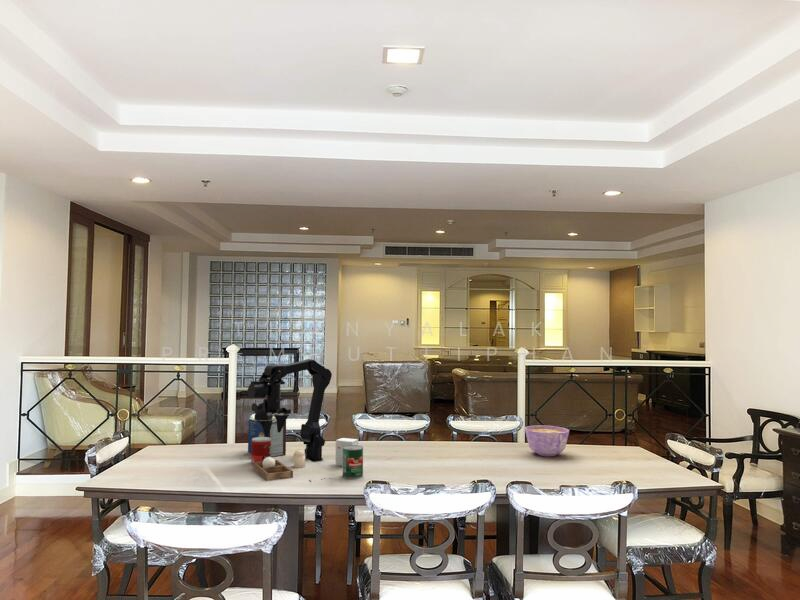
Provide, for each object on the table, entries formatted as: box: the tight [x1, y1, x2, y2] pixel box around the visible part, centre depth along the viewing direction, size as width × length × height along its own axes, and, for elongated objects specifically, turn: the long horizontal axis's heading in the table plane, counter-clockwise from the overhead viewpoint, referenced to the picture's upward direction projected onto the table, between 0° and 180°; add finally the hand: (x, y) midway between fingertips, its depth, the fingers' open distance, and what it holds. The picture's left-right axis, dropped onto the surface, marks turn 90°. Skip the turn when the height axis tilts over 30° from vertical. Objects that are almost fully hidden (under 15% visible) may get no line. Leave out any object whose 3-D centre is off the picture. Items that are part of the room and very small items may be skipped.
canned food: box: [250, 437, 271, 465], centre depth 229 cm, size 8×8×11 cm
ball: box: [262, 457, 276, 468], centre depth 217 cm, size 5×5×5 cm
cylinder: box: [293, 449, 306, 469], centre depth 224 cm, size 5×5×8 cm
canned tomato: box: [342, 444, 364, 480], centre depth 215 cm, size 8×8×11 cm
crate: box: [252, 459, 294, 482], centre depth 213 cm, size 10×20×4 cm, turn 29°
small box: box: [335, 437, 359, 467], centre depth 232 cm, size 8×6×10 cm
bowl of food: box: [524, 424, 570, 457], centre depth 256 cm, size 20×20×12 cm
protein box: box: [247, 417, 287, 458], centre depth 251 cm, size 10×15×16 cm
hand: (273, 434), depth 226 cm, fingers open, 9 cm apart
